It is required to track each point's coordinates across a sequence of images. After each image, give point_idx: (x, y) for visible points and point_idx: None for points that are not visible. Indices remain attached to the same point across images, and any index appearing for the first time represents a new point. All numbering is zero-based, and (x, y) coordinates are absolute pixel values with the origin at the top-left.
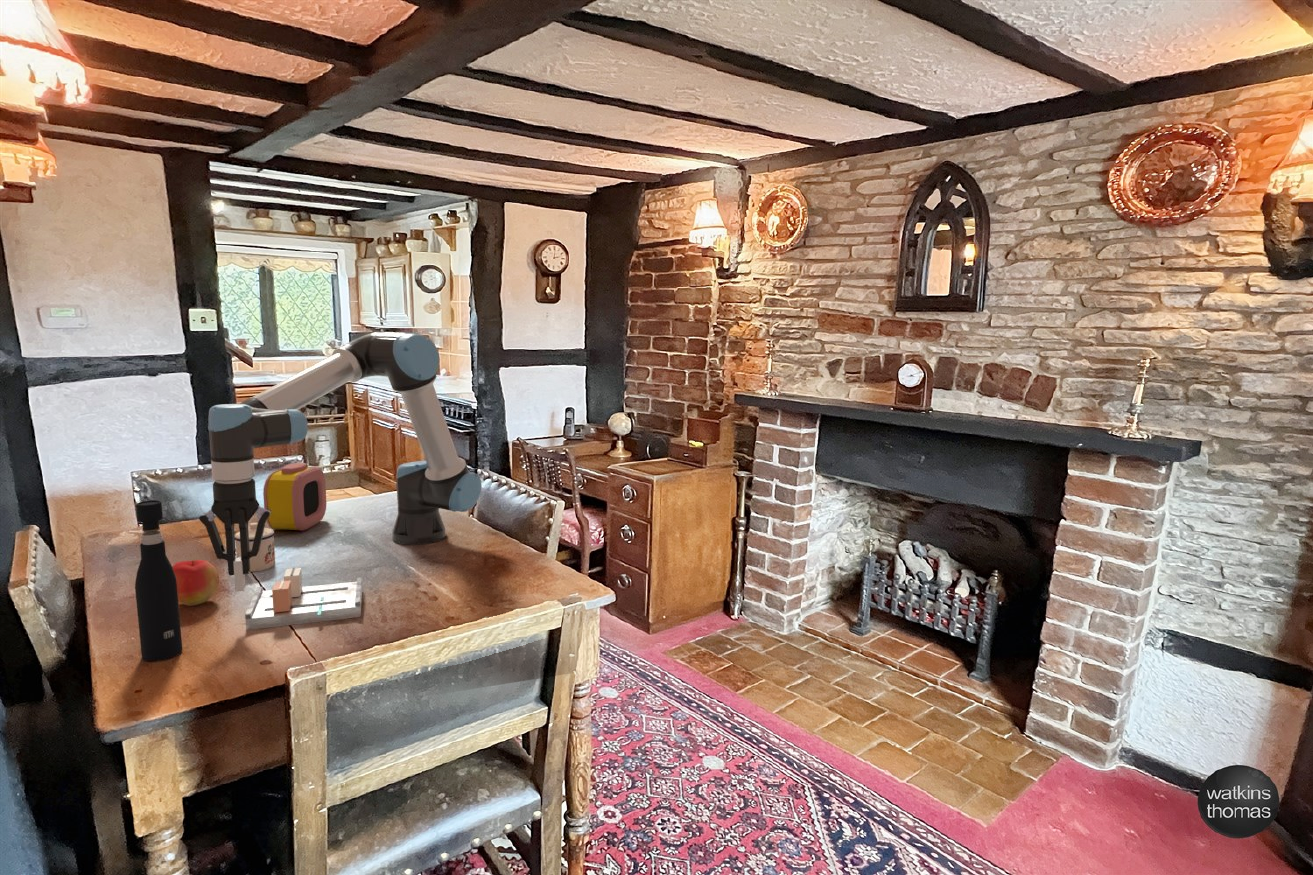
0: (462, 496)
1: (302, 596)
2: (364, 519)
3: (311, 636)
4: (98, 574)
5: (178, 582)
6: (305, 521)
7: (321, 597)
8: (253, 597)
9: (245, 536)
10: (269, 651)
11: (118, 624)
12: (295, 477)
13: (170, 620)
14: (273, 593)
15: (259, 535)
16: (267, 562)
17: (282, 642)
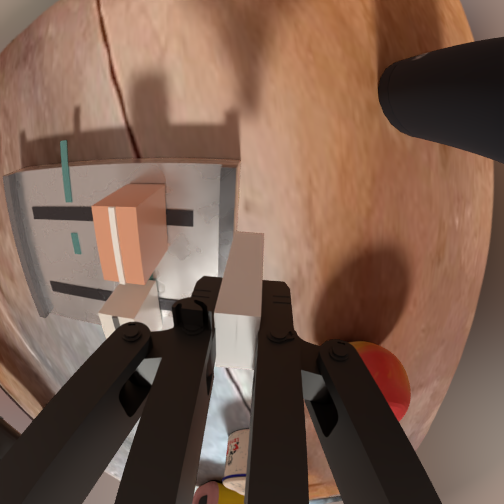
0: None
1: None
2: None
3: (91, 78)
4: (423, 433)
5: (396, 372)
6: (207, 489)
7: (79, 252)
8: None
9: (137, 459)
10: (174, 14)
11: (461, 296)
12: None
13: (440, 51)
14: (138, 203)
15: (44, 424)
16: (235, 439)
17: (147, 55)
